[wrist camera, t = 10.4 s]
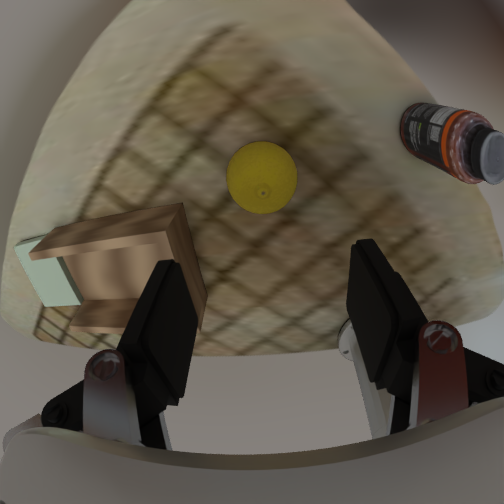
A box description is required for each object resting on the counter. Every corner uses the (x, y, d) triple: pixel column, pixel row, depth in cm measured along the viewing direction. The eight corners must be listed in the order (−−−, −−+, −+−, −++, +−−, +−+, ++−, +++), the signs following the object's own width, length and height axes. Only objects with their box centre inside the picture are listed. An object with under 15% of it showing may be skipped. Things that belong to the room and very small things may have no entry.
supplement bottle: (448, 149, 23) (520, 186, 13) (406, 164, 24) (475, 210, 14) (435, 96, 20) (514, 112, 10) (390, 109, 21) (465, 128, 12)
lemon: (256, 203, 27) (256, 244, 20) (218, 160, 25) (203, 188, 18) (303, 169, 25) (321, 200, 18) (265, 123, 23) (269, 134, 16)
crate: (182, 202, 27) (165, 230, 22) (207, 296, 33) (200, 333, 28) (54, 227, 28) (27, 253, 23) (89, 301, 35) (72, 331, 29)
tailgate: (47, 237, 28) (13, 247, 28) (80, 304, 33) (45, 306, 33) (53, 232, 29) (18, 241, 29) (84, 298, 34) (49, 300, 35)
